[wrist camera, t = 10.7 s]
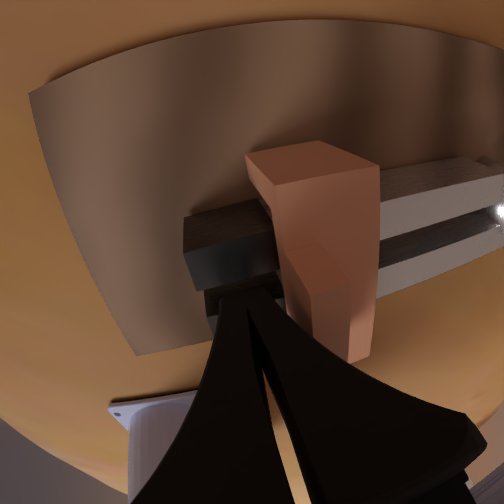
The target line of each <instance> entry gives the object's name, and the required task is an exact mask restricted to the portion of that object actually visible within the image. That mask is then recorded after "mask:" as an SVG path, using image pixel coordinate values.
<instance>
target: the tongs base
mask: <svg viewBox="0 0 504 504" xmlns="http://www.w3.org/2000/svg"><path fill="white" fill-rule="evenodd" d="M475 162H478V163H480V164H483V165H485V166H487V167H490V168H492V169H494V170H497V171H499V172H501V173H503V174H504V162H501V161H499V160H496V159H494V158H491V157H489V156H482V157H479V158H478V159H477V160H476V161H475ZM503 246H504V175H503V185H502V194H501V202H500V203H497V204H494V205H491V206H488V207H485V208H482V209H479V210H476V211H473V212H470V213H467V214H463V215H460V216H457V217H454V218H451V219H448V220H445V221H442V222H438V223H435V224H432V225H429V226H426V227H422V228H419V229H416V230H413V231H410V232H406V233H403V234H400V235H396V236H393V237H390V238H387V239H383V240H380V245H379V266H378V281H377V294H376V298H379V297H382V296H385V295H387V294H390V293H393V292H396V291H398V290H401V289H404V288H406V287H409V286H412V285H414V284H417V283H419V282H422V281H424V280H427V279H430V278H432V277H435V276H437V275H439V274H442V273H444V272H447V271H449V270H452V269H454V268H456V267H459V266H461V265H463V264H466V263H468V262H470V261H472V260H475V259H477V258H479V257H481V256H484V255H486V254H488V253H490V252H492V251H494V250H497V249H499V248H501V247H503ZM260 287H263V288H265V289H266V290H267V291H268V293H269V294H270V295H271V297H272V298H273V299H274V300H275V301H276V302H277V304H278V305H279V306H280V307H281V308H282V309H283V310H284V311H285V312H286V313H287V309H286V302H285V296H284V289H283V282H282V276H281V269H280V270H276V271H273V272H269V273H265V274H262V275H258V276H254V277H251V278H247V279H243V280H240V281H236V282H232V283H229V284H225V285H221V286H217V287H214V288H210V289H206V290H204V300H205V309H206V317H207V320H208V323H209V326H210V328H211V331H212V334H213V336H214V335H215V331H216V325H217V320H218V313H219V301H220V299H221V298H222V297H225V296H229V295H233V294H237V293H240V292H244V291H248V290H252V289H256V288H260Z"/></svg>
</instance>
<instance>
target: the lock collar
mask: <svg viewBox="0 0 504 504" xmlns="http://www.w3.org/2000/svg"><path fill="white" fill-rule="evenodd" d="M245 160H246V165H247V170H248V175H249V179H250V181H251V182H252V183H253V185H254V186H255V187H256V189H257V190H258V192H259V193H260V194H261V196H262V197H263V199H264V200H265V201H266V203H267V204H268V206H269V207H270V208H271V213H272V219H273V225H274V231H275V237H276V244H277V250H278V256H279V263H280V269H281V276H282V282H283V289H284V296H285V302H286V309H287V314H288V315H289V316H290V317H291V318H292V319H293V320H294V321H295V322H296V323H297V324H298V325H300V326H301V327H302V328H303V329H304V330H305V331H306V332H307V333H309V334H310V335H311V336H312V337H313V338H315V339H316V340H317V341H318V342H320V343H321V344H322V345H323V346H325V347H326V348H327V349H329V350H330V351H331V352H333V353H334V354H336V355H337V356H338V357H340V358H341V359H343V360H344V361H346V362H348V363H349V364H350V363H353V362H356V361H358V360H361V359H363V358H366V357H369V355H370V348H371V340H372V333H373V324H374V315H375V305H376V294H377V281H378V266H379V245H380V168H379V165H377V164H375V163H373V162H370V161H368V160H366V159H363V158H361V157H359V156H356V155H354V154H352V153H349V152H347V151H344V150H342V149H339V148H337V147H334V146H332V145H329V144H327V143H324V142H322V141H319V140H317V141H311V142H305V143H299V144H293V145H288V146H282V147H277V148H272V149H267V150H262V151H257V152H252V153H247V154H245Z"/></svg>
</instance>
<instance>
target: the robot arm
mask: <svg viewBox="0 0 504 504" xmlns="http://www.w3.org/2000/svg"><path fill="white" fill-rule="evenodd" d="M262 369H263V371H264V374H265V376H266V379H267V381H268V383H269V386H270V388H271V391H272V393H273V396H274V398H275V400H276V403H277V405H278V407H279V410H280V412H281V415H282V417H283V419H284V422H285V424H286V427H287V429H288V432H289V435H290V438H291V441H292V444H293V447H294V451H295V454H296V457H297V460H298V463H299V466H300V469H301V473H302V476H303V479H304V482H305V485H306V488H307V491H308V495H309V498H310V501H311V504H504V463H502V464H501V465H500V466H499V467H497V468H496V469H495V470H494V471H493V472H491V473H490V474H489V475H488V476H486V477H485V478H484V479H483V480H481V481H480V482H478V483H477V484H476V485H474V486H473V487H472V488H470V489H468V487H467V485H466V483H465V482H467V481H468V480H469V477H468V475H467V473H466V472H465V470H464V469H465V468H466V467H467V466H468V465H469V464H471V462H473V461H474V460H475V459H476V458H477V457H478V456H479V455H480V454H482V452H483V451H484V450H485V449H486V447H487V442H486V440H485V439H484V437H483V436H482V434H481V433H480V431H479V430H478V428H477V427H476V426H475V424H474V423H473V422H472V421H471V420H470V419H469V418H468V417H467V415H466V414H465V413H461V412H457V411H454V410H450V409H447V408H444V407H441V406H438V405H435V404H432V403H429V402H426V401H423V400H421V399H418V398H416V397H413V396H411V395H408V394H406V393H403V392H401V391H399V390H397V389H395V388H393V387H391V386H389V385H387V384H385V383H383V382H381V381H379V380H377V379H375V378H373V377H371V376H369V375H367V374H366V373H364V372H362V371H361V370H359V369H357V368H355V367H354V366H352V365H351V364H349V363H348V362H346V361H344V360H343V359H341V358H340V357H338V356H337V355H336V354H334V353H333V352H331V351H330V350H329V349H327V348H326V347H325V346H323V345H322V344H321V343H320V342H318V341H317V340H316V339H315V338H313V337H312V336H311V335H310V334H309V333H307V332H306V331H305V330H304V329H303V328H302V327H301V326H300V325H298V324H297V323H296V322H295V321H294V320H293V319H292V318H291V317H290V316H289V315H288V314H287V313H286V312H285V311H284V310H283V309H282V308H281V307H280V306H279V305H278V304H277V302H276V301H275V300H274V299H273V298H272V297H271V295H270V294H269V293H268V291H267V290H266V289H265V288H263V287H260V288H256V289H252V290H248V291H244V292H240V293H237V294H233V295H229V296H225V297H222V298H221V299H220V301H219V313H218V320H217V325H216V331H215V335H214V339H213V343H212V347H211V351H210V354H209V358H208V361H207V364H206V367H205V370H204V373H203V376H202V379H201V382H200V385H199V387H198V390H195V391H190V392H184V393H179V394H173V395H167V396H161V397H155V398H149V399H142V400H134V401H127V402H118V403H111V404H109V405H108V411H109V412H110V413H111V414H112V415H113V416H114V417H115V418H116V419H117V420H118V421H119V423H120V424H121V425H122V426H123V427H124V428H125V429H126V430H127V431H129V444H128V504H295V502H294V499H293V496H292V492H291V489H290V486H289V483H288V480H287V476H286V473H285V470H284V466H283V463H282V460H281V456H280V453H279V450H278V446H277V443H276V439H275V435H274V431H273V427H272V421H271V416H270V410H269V405H268V399H267V394H266V388H265V383H264V377H263V371H262Z"/></svg>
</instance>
